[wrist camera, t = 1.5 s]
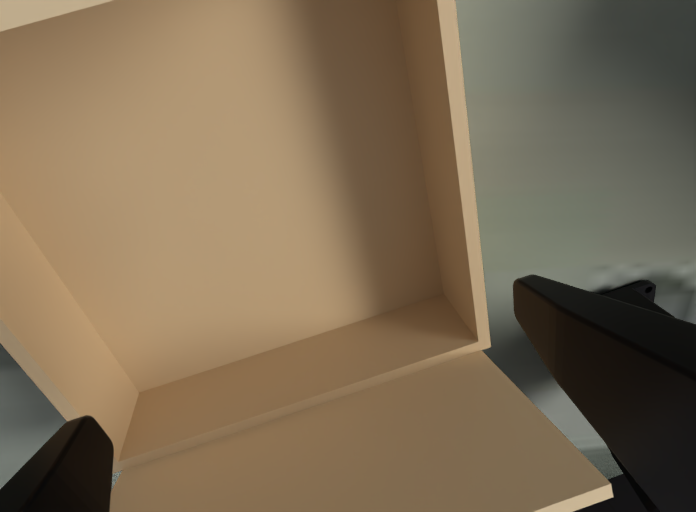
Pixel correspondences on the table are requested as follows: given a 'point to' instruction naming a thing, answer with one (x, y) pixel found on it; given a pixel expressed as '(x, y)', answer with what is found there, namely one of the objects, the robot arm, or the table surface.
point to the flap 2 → (383, 455)
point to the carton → (233, 210)
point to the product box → (618, 499)
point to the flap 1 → (38, 10)
